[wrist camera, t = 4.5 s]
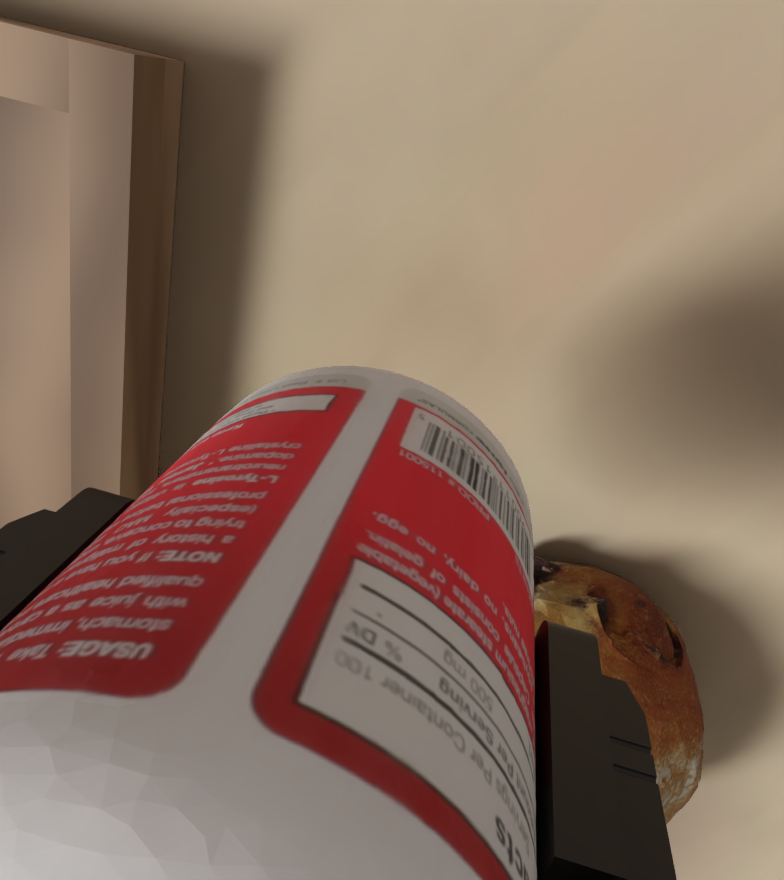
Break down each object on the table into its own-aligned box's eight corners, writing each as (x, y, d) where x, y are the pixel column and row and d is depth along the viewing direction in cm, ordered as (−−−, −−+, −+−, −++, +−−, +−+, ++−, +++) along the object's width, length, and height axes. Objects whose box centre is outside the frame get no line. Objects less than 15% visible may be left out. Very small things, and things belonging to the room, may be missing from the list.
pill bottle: (193, 589, 14) (-565, 1619, 4) (231, 311, 12) (-1514, 1392, 2) (478, 682, 14) (343, 2035, 4) (587, 418, 11) (993, 2623, 1)
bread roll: (401, 638, 29) (361, 855, 24) (408, 505, 21) (350, 792, 16) (642, 681, 28) (652, 917, 23) (747, 559, 20) (798, 885, 15)
